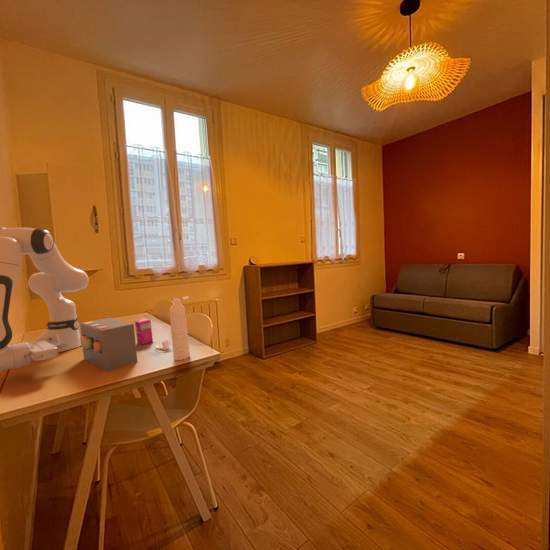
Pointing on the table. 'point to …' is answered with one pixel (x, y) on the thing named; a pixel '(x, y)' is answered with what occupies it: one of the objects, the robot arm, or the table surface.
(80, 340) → the ochre button
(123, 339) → the box
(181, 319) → the water bottle
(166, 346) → the teacup and saucer
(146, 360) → the table surface
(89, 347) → the sage button
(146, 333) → the supplement box
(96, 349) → the terracotta button
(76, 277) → the robot arm
